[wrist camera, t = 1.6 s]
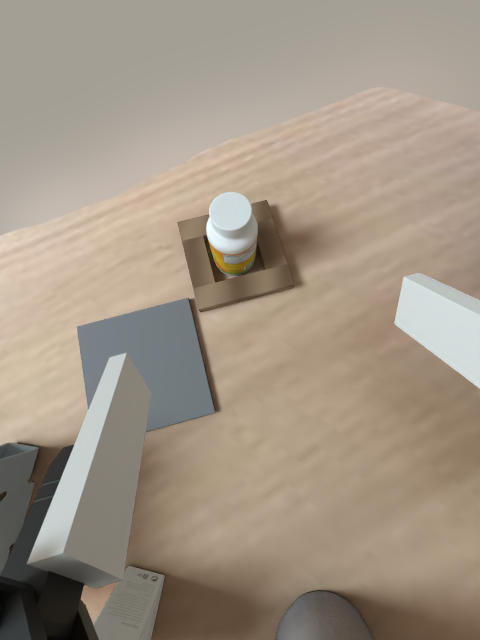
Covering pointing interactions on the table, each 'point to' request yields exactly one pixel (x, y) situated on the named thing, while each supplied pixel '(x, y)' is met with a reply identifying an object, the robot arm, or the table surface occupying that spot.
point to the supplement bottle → (232, 233)
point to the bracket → (14, 492)
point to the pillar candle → (322, 619)
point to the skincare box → (131, 607)
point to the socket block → (243, 286)
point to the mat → (153, 359)
